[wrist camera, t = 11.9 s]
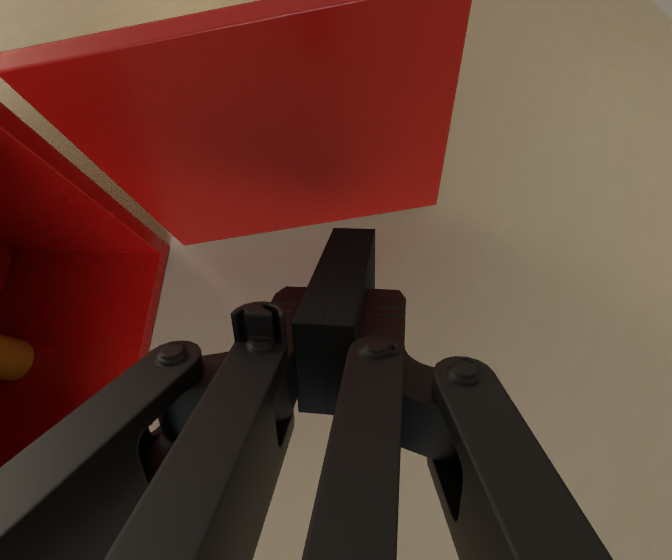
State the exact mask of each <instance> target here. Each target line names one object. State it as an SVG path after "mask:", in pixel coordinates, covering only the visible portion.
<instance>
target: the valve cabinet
mask: <svg viewBox="0 0 672 560" xmlns="http://www.w3.org/2000/svg"><path fill="white" fill-rule="evenodd" d="M169 249H170V246H169V245H167V244H166V243H165V242H164V241H163V240H162V239H160V238H159V237H158V236H157V235H156V234H154V233H153V232H152V231H151V230H150V229H149V228H147V227H146V226H145V225H144V224H143V223H142V222H140V221H139V220H138V219H137V218H136V217H135V216H133V215H132V214H131V213H130V212H129V211H128V210H126V209H125V208H124V207H123V206H122V205H121V204H119V203H118V202H117V201H116V200H115V199H113V198H112V197H111V196H110V195H109V194H108V193H106V192H105V191H104V190H103V189H102V188H101V187H99V186H98V185H97V184H96V183H95V182H94V181H92V180H91V179H90V178H89V177H88V176H87V175H85V174H84V173H83V172H82V171H81V170H79V169H78V168H77V167H76V166H75V165H74V164H72V163H71V162H70V161H69V160H68V159H67V158H65V157H64V156H63V155H62V154H61V153H60V152H58V151H57V150H56V149H55V148H54V147H53V146H51V145H50V144H49V143H48V142H47V141H46V140H44V139H43V138H42V137H41V136H40V135H38V134H37V133H36V132H35V131H34V130H33V129H31V128H30V127H29V126H28V125H27V124H26V123H24V122H23V121H22V120H21V119H20V118H19V117H17V116H16V115H15V114H14V113H13V112H12V111H10V110H9V109H8V108H7V107H6V106H5V105H3V104H2V103H1V102H0V467H1V466H3V465H4V464H5V463H7V462H8V461H9V460H11V459H12V458H13V457H14V456H16V455H17V454H18V453H20V452H21V451H22V450H23V449H25V448H26V447H27V446H29V445H30V444H31V443H32V442H34V441H35V440H36V439H38V438H39V437H40V436H42V435H43V434H44V433H45V432H47V431H48V430H49V429H51V428H52V427H53V426H54V425H56V424H57V423H58V422H60V421H61V420H62V419H64V418H65V417H66V416H67V415H69V414H70V413H71V412H73V411H74V410H75V409H76V408H78V407H79V406H80V405H82V404H83V403H84V402H85V401H87V400H88V399H89V398H91V397H92V396H93V395H95V394H96V393H97V392H98V391H100V390H101V389H102V388H104V387H105V386H106V385H107V384H109V383H110V382H111V381H113V380H114V379H115V378H116V377H118V376H119V375H120V374H122V373H123V372H124V371H126V370H127V369H128V368H129V367H131V366H132V365H133V364H135V363H136V362H137V361H138V360H140V359H141V358H142V357H144V356H145V355H146V354H147V353H148V351H149V347H150V342H151V337H152V332H153V327H154V322H155V317H156V312H157V307H158V302H159V298H160V293H161V288H162V283H163V278H164V273H165V268H166V263H167V258H168V254H169Z"/></svg>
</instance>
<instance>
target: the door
mask: <svg viewBox="0 0 672 560" xmlns="http://www.w3.org/2000/svg"><path fill="white" fill-rule="evenodd" d="M471 2H472V0H259V1H254V2H249V3H244V4H239V5H234V6H229V7H224V8H219V9H214V10H209V11H204V12H199V13H194V14H189V15H184V16H179V17H174V18H169V19H164V20H159V21H154V22H149V23H144V24H139V25H134V26H129V27H124V28H119V29H114V30H109V31H104V32H99V33H94V34H89V35H84V36H79V37H74V38H69V39H64V40H59V41H54V42H49V43H44V44H39V45H34V46H30V47H25V48H20V49H15V50H10V51H5V52H0V77H1V78H2V79H3V80H4V81H5V82H6V83H8V84H9V85H10V86H11V87H12V88H13V89H14V90H15V91H16V92H17V93H18V94H20V95H21V96H22V97H23V98H24V99H25V100H26V101H27V102H28V103H29V104H30V105H32V106H33V107H34V108H35V109H36V110H37V111H38V112H39V113H40V114H41V115H42V116H44V117H45V118H46V119H47V120H48V121H49V122H50V123H51V124H52V125H53V126H54V127H56V128H57V129H58V130H59V131H60V132H61V133H62V134H63V135H64V136H65V137H66V138H68V139H69V140H70V141H71V142H72V143H73V144H74V145H75V146H76V147H77V148H78V149H80V150H81V151H82V152H83V153H84V154H85V155H86V156H87V157H88V158H89V159H90V160H92V161H93V162H94V163H95V164H96V165H97V166H98V167H99V168H100V169H101V170H102V171H104V172H105V173H106V174H107V175H108V176H109V177H110V178H111V179H112V180H113V181H114V182H116V183H117V184H118V185H119V186H120V187H121V188H122V189H123V190H124V191H125V192H126V193H128V194H129V195H130V196H131V197H132V198H133V199H134V200H135V201H136V202H137V203H138V204H140V205H141V206H142V207H143V208H144V209H145V210H146V211H147V212H148V213H149V214H150V215H152V216H153V217H154V218H155V219H156V220H157V221H158V222H159V223H160V224H161V225H162V226H164V227H165V228H166V229H167V230H168V231H169V232H170V233H171V234H172V235H173V236H174V237H176V238H177V239H178V240H179V241H180V242H181V243H182V244H183V245H190V244H196V243H202V242H209V241H215V240H221V239H227V238H233V237H239V236H245V235H252V234H258V233H264V232H270V231H276V230H282V229H288V228H295V227H301V226H307V225H313V224H319V223H325V222H332V221H338V220H344V219H350V218H356V217H362V216H368V215H375V214H381V213H387V212H393V211H399V210H405V209H411V208H418V207H424V206H430V205H435V204H436V203H437V197H438V191H439V186H440V180H441V174H442V168H443V163H444V157H445V151H446V146H447V140H448V134H449V128H450V123H451V117H452V111H453V105H454V100H455V94H456V88H457V83H458V77H459V71H460V65H461V60H462V54H463V48H464V42H465V37H466V31H467V25H468V20H469V14H470V8H471Z"/></svg>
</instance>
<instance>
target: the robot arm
mask: <svg viewBox="0 0 672 560" xmlns="http://www.w3.org/2000/svg"><path fill="white" fill-rule="evenodd" d="M405 307H406V298H405V297H404V296H403V294H402V293H401V292H400V290H387V289H375V229H351V228H333V231H332V233H331V235H330V237H329V240H328V242H327V244H326V246H325V249H324V251H323V253H322V255H321V258H320V260H319V262H318V264H317V267H316V269H315V271H314V273H313V276H312V278H311V280H310V282H309V285H308V287H288V286H286V287H285V288H283V289H282V290H280V291H279V292H277V293H276V294H275V296H274V297H273V299H272V301H271V302H265V301H263V302H252V303H248V304H244V305H242V306H240V307H238V308H236V309H235V310H234V311H233V312H232V313H231V319H232V325H233V332H234V338H235V343H234V345H233V346H232V348H231V349H230V351H229V352H224V353H219V354H212V355H205V356H202V353H201V349H200V347H199V346H198V345H197V344H195V343H193V342H190V341H172V342H168V343H166V344H163V345H160V346H158V347H156V348H155V349H153V350H151V351H150V352H149V353H147V354H146V355H145V356H144V357H142V358H141V359H140V360H138V361H137V362H136V363H135V364H133V365H132V366H131V367H129V368H128V369H127V370H126V371H124V372H123V373H122V374H120V375H119V376H118V377H116V378H115V379H114V380H113V381H111V382H110V383H109V384H107V385H106V386H105V387H104V388H102V389H101V390H100V391H98V392H97V393H96V394H95V395H93V396H92V397H91V398H89V399H88V400H87V401H85V402H84V403H83V404H82V405H80V406H79V407H78V408H76V409H75V410H74V411H73V412H71V413H70V414H69V415H67V416H66V417H65V418H64V419H62V420H61V421H60V422H58V423H57V424H56V425H54V426H53V427H52V428H51V429H49V430H48V431H47V432H45V433H44V434H43V435H42V436H40V437H39V438H38V439H36V440H35V441H34V442H32V443H31V444H30V445H29V446H27V447H26V448H25V449H23V450H22V451H21V452H20V453H18V454H17V455H16V456H14V457H13V458H12V459H11V460H9V461H8V462H7V463H5V464H4V465H3V466H1V467H0V560H252V559H253V556H254V553H255V550H256V547H257V543H258V540H259V537H260V534H261V531H262V527H263V524H264V521H265V518H266V515H267V511H268V508H269V505H270V502H271V499H272V495H273V492H274V489H275V486H276V483H277V479H278V476H279V473H280V470H281V467H282V464H283V460H284V457H285V454H286V451H287V448H288V444H289V441H290V438H291V435H292V432H293V428H294V410H293V409H294V406H295V403H296V400H297V397H298V409H299V412H305V413H317V414H329V415H334V417H333V422H332V426H331V431H330V435H329V439H328V444H327V448H326V453H325V457H324V462H323V466H322V471H321V475H320V480H319V484H318V489H317V493H316V498H315V502H314V507H313V511H312V516H311V520H310V525H309V529H308V534H307V538H306V543H305V547H304V552H303V556H302V560H396V558H397V531H398V504H399V478H400V451H401V447H402V448H404V449H407V450H410V451H412V452H415V453H418V454H421V455H423V456H426V457H427V464H428V467H429V470H430V473H431V476H432V479H433V482H434V485H435V488H436V491H437V494H438V497H439V500H440V503H441V506H442V509H443V512H444V515H445V518H446V521H447V524H448V527H449V530H450V533H451V536H452V539H453V542H454V545H455V548H456V551H457V554H458V557H459V560H613V559H612V557H611V556H610V554H609V552H608V551H607V549H606V548H605V546H604V545H603V543H602V541H601V540H600V538H599V537H598V535H597V534H596V532H595V530H594V529H593V527H592V526H591V524H590V523H589V521H588V519H587V518H586V516H585V515H584V513H583V512H582V510H581V508H580V507H579V505H578V504H577V502H576V501H575V499H574V497H573V496H572V494H571V493H570V491H569V490H568V488H567V486H566V485H565V483H564V482H563V480H562V478H561V477H560V475H559V474H558V472H557V471H556V469H555V467H554V466H553V464H552V463H551V461H550V460H549V458H548V456H547V455H546V453H545V452H544V450H543V449H542V447H541V445H540V444H539V442H538V441H537V439H536V438H535V436H534V434H533V433H532V431H531V430H530V428H529V427H528V425H527V423H526V422H525V420H524V419H523V417H522V416H521V414H520V412H519V411H518V409H517V408H516V406H515V405H514V403H513V401H512V400H511V398H510V397H509V395H508V394H507V392H506V390H505V389H504V387H503V386H502V384H501V383H500V381H499V379H498V378H497V376H496V375H495V373H494V372H493V371H492V370H491V369H490V367H489V366H488V365H486V364H484V363H482V362H481V361H479V360H476V359H472V358H469V357H458V356H454V357H449V358H445V359H443V360H441V361H440V362H438V363H437V364H436V366H435V368H434V367H431V366H427V365H425V364H422V363H419V362H418V361H416V360H414V359H413V358H411V357H410V356H409V355H408V354H407V352H406V350H405V346H404V337H405ZM157 418H158V419H159V423H160V426H159V427H158V428H157V429H156V430H154V431H153V432H151V433H150V431H149V426H150V425H151V424H152V423H153V422H154V421H155V420H156V419H157Z"/></svg>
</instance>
